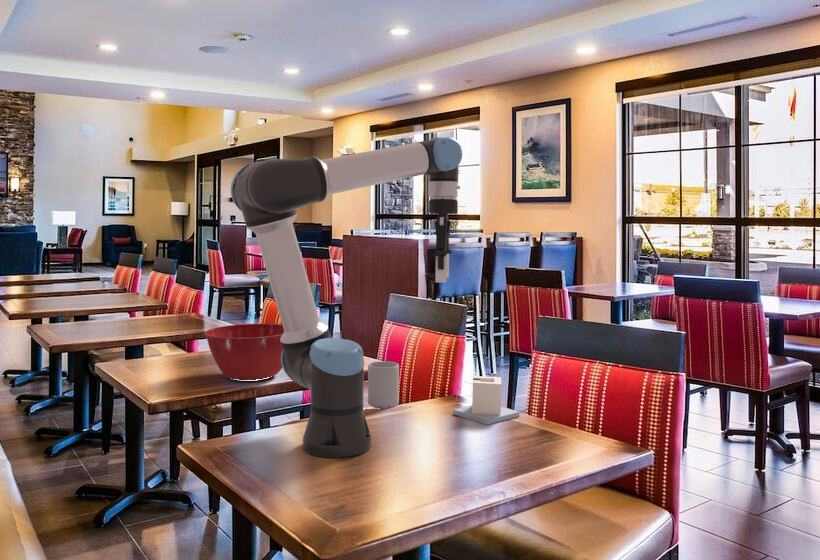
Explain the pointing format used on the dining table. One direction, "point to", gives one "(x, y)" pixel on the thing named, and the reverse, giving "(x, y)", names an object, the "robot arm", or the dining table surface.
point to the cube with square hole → (486, 395)
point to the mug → (383, 384)
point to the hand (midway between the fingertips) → (442, 280)
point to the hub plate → (486, 415)
